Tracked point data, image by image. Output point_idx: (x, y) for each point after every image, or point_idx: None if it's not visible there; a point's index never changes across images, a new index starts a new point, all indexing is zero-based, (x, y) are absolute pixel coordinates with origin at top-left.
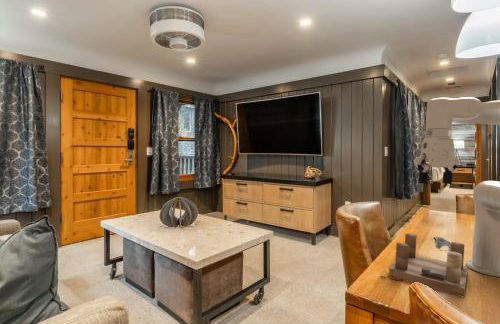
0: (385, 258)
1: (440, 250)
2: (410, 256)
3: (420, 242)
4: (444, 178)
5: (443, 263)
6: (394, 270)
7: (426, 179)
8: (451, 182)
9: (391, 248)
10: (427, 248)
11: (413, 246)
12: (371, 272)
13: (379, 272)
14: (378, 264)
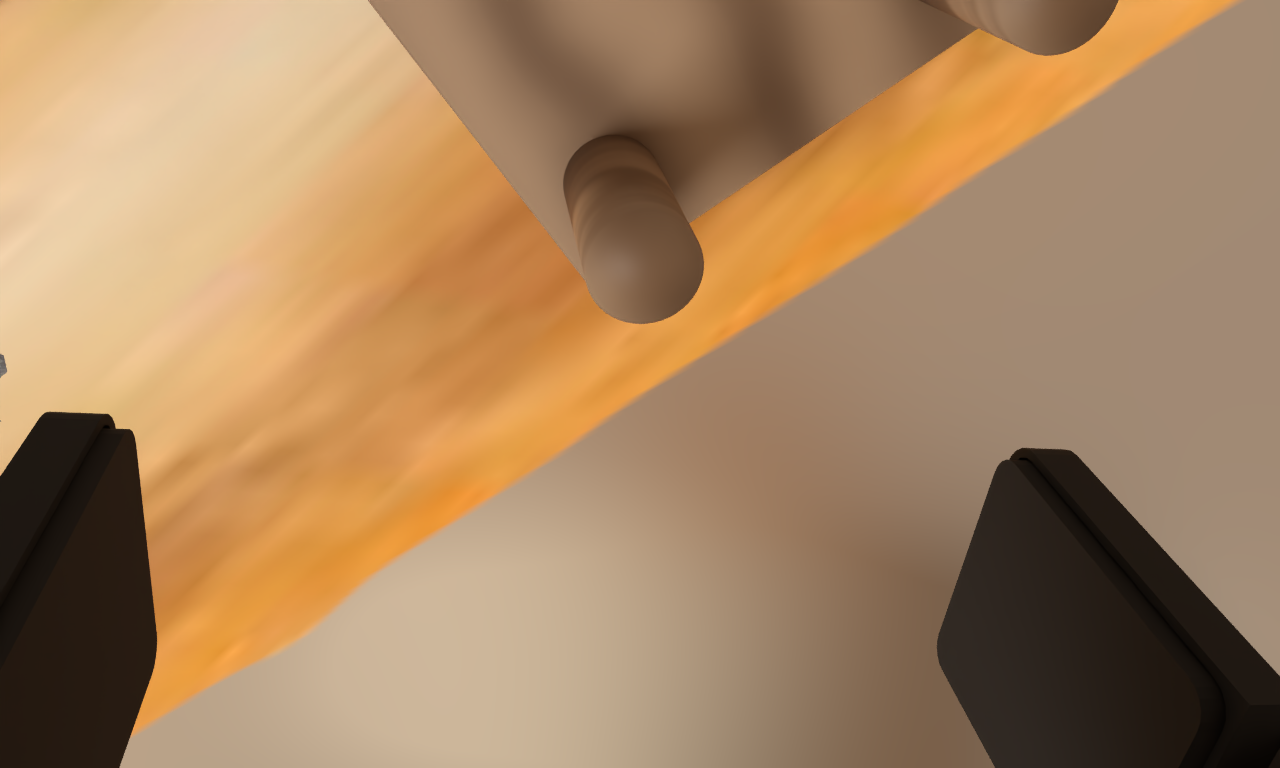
0: (745, 284)
1: (2, 359)
2: (647, 148)
3: None
4: (112, 719)
5: None
6: None
7: (1123, 521)
8: (52, 427)
9: (499, 469)
10: None
11: (640, 173)
12: (1102, 58)
13: None
14: (912, 186)
